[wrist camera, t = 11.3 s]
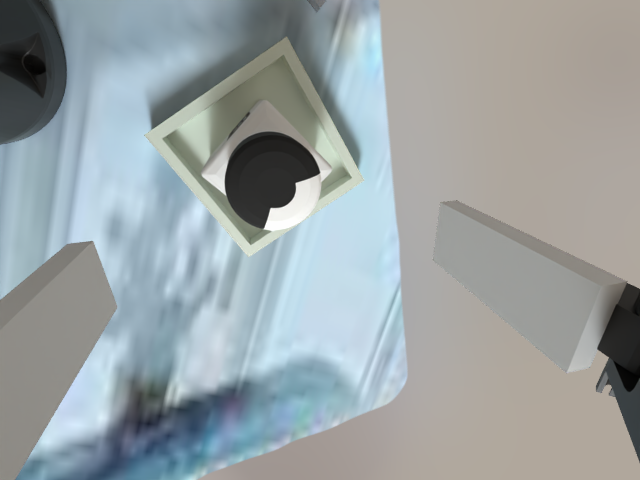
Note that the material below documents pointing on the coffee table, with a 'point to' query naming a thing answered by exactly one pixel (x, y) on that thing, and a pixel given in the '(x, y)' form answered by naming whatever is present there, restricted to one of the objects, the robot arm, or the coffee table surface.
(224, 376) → the coffee table surface
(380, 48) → the coffee table surface
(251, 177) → the container
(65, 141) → the coffee table surface
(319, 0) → the puller tool
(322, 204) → the parts tray
